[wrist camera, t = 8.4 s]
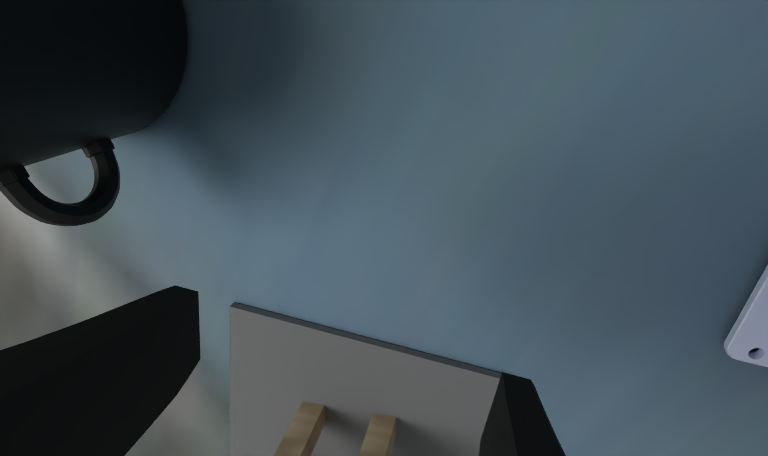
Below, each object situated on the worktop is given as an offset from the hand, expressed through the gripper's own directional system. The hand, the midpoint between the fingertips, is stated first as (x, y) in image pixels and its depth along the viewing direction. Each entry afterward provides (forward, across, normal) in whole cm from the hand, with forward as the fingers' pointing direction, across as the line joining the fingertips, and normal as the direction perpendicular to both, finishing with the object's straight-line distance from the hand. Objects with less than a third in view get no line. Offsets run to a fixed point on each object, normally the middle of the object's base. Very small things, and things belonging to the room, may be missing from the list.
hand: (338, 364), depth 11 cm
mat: (+10, +1, +14) cm, 17 cm away
